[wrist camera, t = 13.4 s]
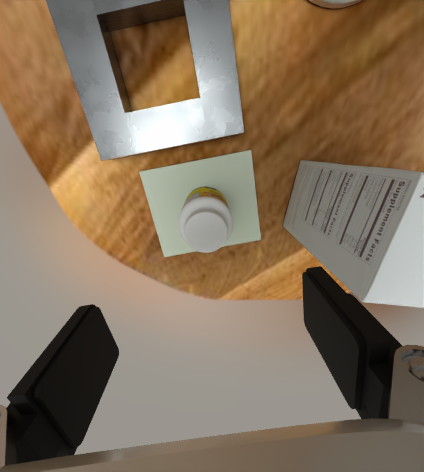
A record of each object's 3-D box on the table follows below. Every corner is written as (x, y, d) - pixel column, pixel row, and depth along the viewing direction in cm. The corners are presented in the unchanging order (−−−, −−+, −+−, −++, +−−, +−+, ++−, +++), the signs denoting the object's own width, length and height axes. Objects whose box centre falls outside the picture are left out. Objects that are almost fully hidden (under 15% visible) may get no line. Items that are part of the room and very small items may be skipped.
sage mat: (250, 150, 27) (251, 150, 27) (260, 238, 32) (261, 239, 31) (140, 171, 28) (139, 171, 28) (164, 255, 32) (164, 257, 32)
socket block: (217, -49, 21) (219, -80, 18) (240, 134, 27) (244, 132, 24) (55, -12, 22) (33, -36, 19) (112, 159, 27) (101, 160, 25)
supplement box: (280, 227, 31) (356, 305, 16) (298, 158, 28) (417, 169, 12) (344, 235, 32) (479, 317, 16) (369, 169, 29) (568, 192, 13)
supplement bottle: (234, 211, 30) (248, 240, 20) (201, 233, 31) (199, 271, 21) (210, 176, 28) (213, 189, 18) (176, 201, 29) (161, 226, 19)
